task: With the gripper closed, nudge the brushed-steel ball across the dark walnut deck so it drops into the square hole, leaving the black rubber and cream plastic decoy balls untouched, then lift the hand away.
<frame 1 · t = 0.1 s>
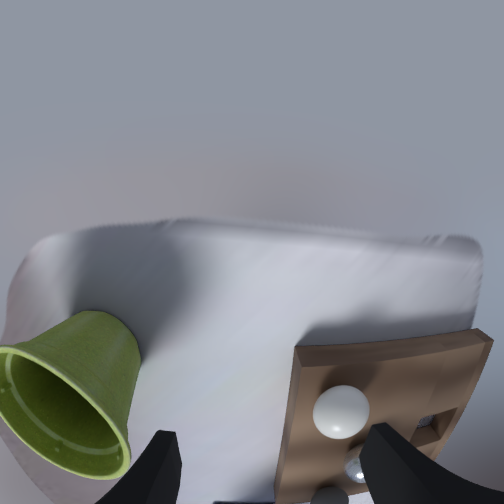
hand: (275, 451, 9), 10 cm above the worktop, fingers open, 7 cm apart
cream plastic decoy: (341, 412, 16), point 4 cm above the worktop, touching walnut deck
steel ball: (365, 462, 17), point 4 cm above the worktop, touching walnut deck
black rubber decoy: (329, 502, 19), point 4 cm above the worktop, touching walnut deck
plant pot: (104, 346, 19), on the worktop
walnut deck: (376, 424, 21), on the worktop
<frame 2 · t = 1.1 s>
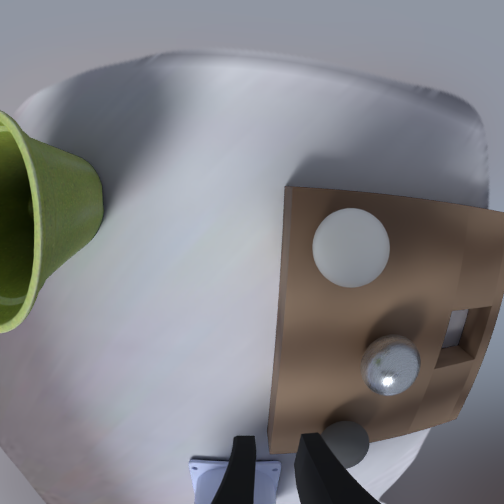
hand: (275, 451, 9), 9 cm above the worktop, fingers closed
cream plastic decoy: (351, 247, 13), point 4 cm above the worktop, touching walnut deck
steel ball: (390, 365, 14), point 4 cm above the worktop, touching walnut deck
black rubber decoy: (343, 445, 16), point 4 cm above the worktop, touching walnut deck
plant pot: (66, 203, 16), on the worktop
walnut deck: (395, 329, 19), on the worktop
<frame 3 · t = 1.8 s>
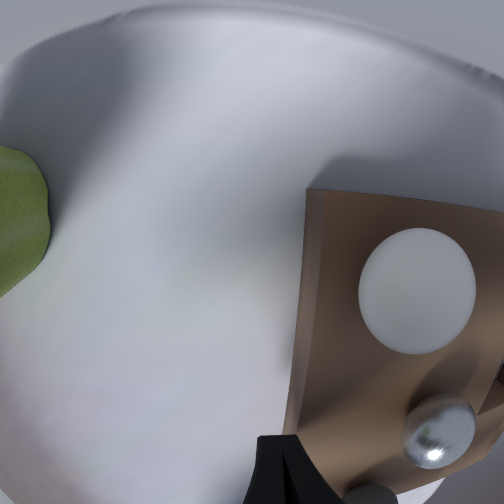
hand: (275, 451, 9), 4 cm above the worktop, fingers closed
cream plastic decoy: (418, 291, 7), point 4 cm above the worktop, touching walnut deck
steel ball: (438, 431, 9), point 4 cm above the worktop, touching walnut deck
plant pot: (11, 215, 11), on the worktop
walnut deck: (436, 372, 13), on the worktop
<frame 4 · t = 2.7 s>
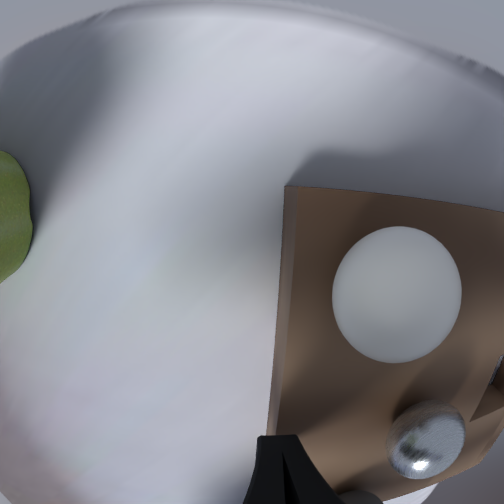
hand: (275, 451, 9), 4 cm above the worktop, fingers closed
cream plastic decoy: (397, 295, 7), point 4 cm above the worktop, touching walnut deck
steel ball: (425, 439, 9), point 4 cm above the worktop, touching walnut deck
walnut deck: (426, 377, 13), on the worktop
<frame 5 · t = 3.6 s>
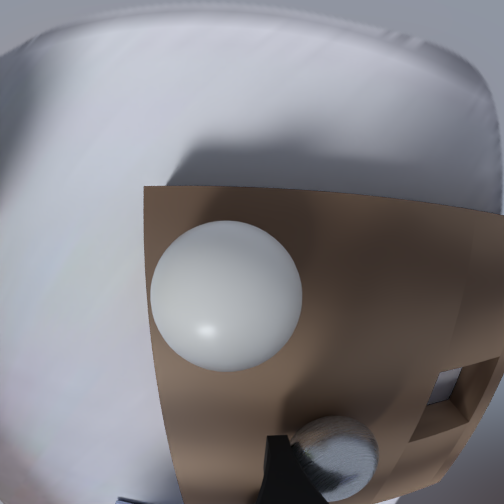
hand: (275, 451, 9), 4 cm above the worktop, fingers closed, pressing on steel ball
cream plastic decoy: (226, 296, 7), point 4 cm above the worktop, touching walnut deck
steel ball: (331, 459, 8), point 4 cm above the worktop, tilted 8°, touching gripper, walnut deck
walnut deck: (354, 389, 13), on the worktop
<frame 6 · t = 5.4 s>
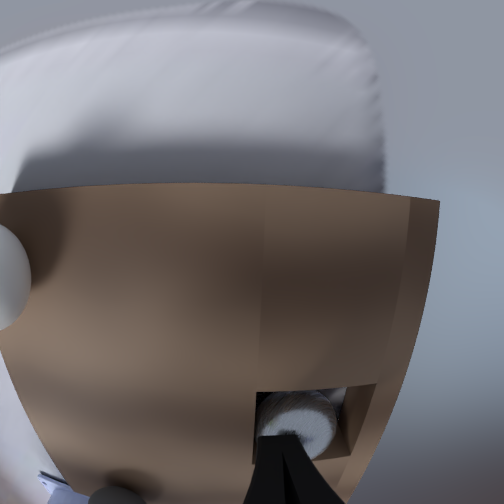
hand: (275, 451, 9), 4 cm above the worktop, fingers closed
steel ball: (294, 425, 11), point 2 cm above the worktop, tilted 143°
walnut deck: (190, 392, 12), on the worktop
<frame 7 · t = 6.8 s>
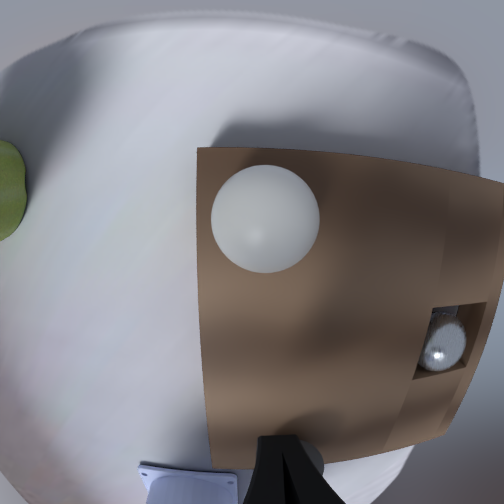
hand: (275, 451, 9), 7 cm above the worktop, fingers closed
cream plastic decoy: (265, 218, 10), point 4 cm above the worktop, touching walnut deck
steel ball: (439, 341, 14), point 2 cm above the worktop, tilted 140°
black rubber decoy: (291, 467, 13), point 4 cm above the worktop, touching walnut deck
plant pot: (0, 190, 13), on the worktop
walnut deck: (361, 329, 16), on the worktop
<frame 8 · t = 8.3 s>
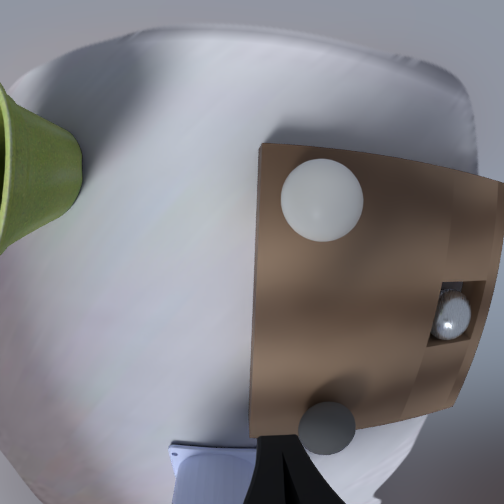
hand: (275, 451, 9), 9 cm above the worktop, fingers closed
cream plastic decoy: (322, 200, 12), point 4 cm above the worktop, touching walnut deck
steel ball: (448, 314, 17), point 2 cm above the worktop, tilted 136°
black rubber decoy: (326, 428, 15), point 4 cm above the worktop, touching walnut deck
plant pot: (49, 174, 16), on the worktop
walnut deck: (382, 303, 18), on the worktop
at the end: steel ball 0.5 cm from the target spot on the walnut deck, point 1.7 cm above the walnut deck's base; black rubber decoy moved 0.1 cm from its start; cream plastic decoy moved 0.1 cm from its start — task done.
